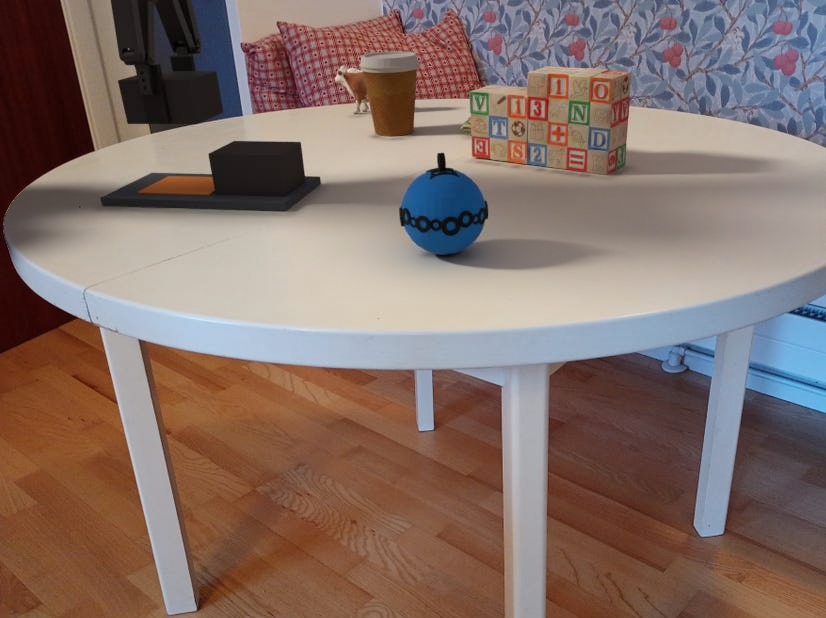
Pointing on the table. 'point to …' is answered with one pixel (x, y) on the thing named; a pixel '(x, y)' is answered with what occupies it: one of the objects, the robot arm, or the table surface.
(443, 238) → the ornament
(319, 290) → the table surface
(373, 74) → the disposable coffee cup
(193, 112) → the loose block
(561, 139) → the stack of blocks
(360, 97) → the bull figurine
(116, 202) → the pad base
